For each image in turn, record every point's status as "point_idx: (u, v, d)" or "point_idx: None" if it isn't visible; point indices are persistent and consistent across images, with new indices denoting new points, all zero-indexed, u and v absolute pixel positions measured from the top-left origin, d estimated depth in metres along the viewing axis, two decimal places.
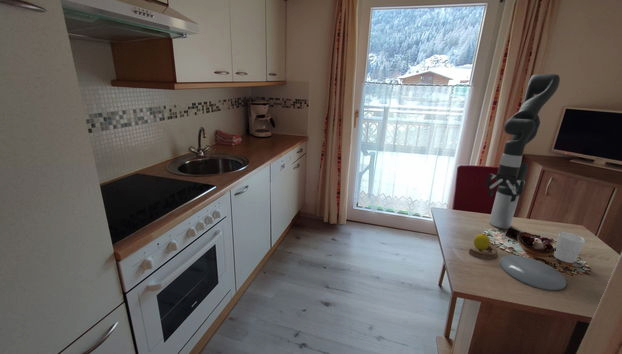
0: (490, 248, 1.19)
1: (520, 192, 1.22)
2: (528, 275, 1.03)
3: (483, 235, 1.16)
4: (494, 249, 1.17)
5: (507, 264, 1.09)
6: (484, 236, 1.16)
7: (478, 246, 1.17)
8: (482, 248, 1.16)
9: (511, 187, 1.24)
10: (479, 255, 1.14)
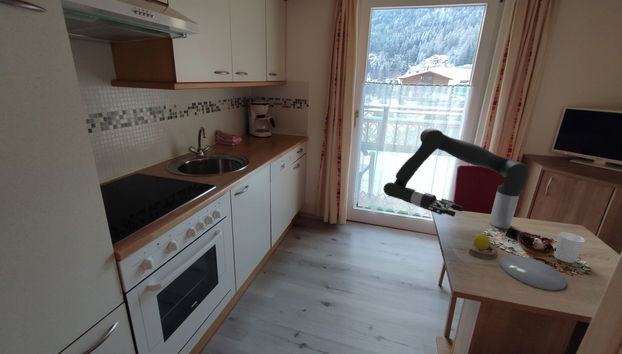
0: (490, 248, 1.19)
1: None
2: (528, 275, 1.03)
3: (483, 235, 1.16)
4: (494, 249, 1.17)
5: (507, 264, 1.09)
6: (484, 236, 1.16)
7: (478, 246, 1.17)
8: (482, 248, 1.16)
9: None
10: (479, 255, 1.14)
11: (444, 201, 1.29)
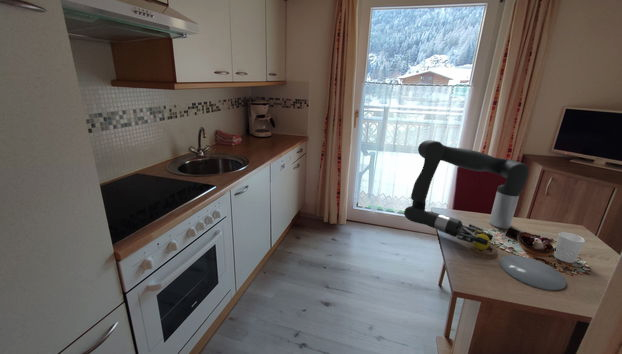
0: (490, 248, 1.19)
1: None
2: (528, 275, 1.03)
3: (483, 235, 1.16)
4: (494, 249, 1.17)
5: (507, 264, 1.09)
6: (484, 236, 1.16)
7: (478, 246, 1.17)
8: (482, 248, 1.16)
9: None
10: (479, 255, 1.14)
11: (471, 228, 1.22)
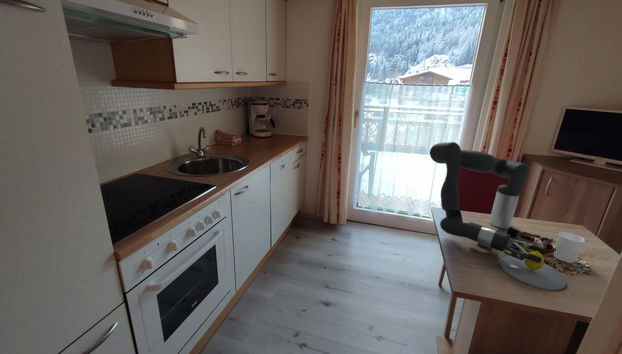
0: (490, 248, 1.19)
1: None
2: (528, 275, 1.03)
3: (537, 253, 1.03)
4: (494, 249, 1.17)
5: (507, 264, 1.09)
6: (538, 254, 1.03)
7: (531, 265, 1.03)
8: (535, 268, 1.03)
9: None
10: (479, 255, 1.14)
11: (521, 241, 1.09)
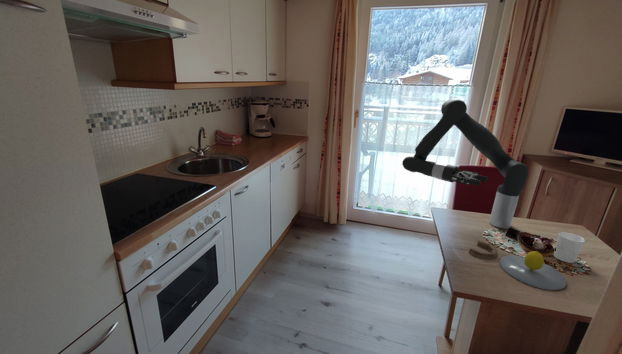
0: (490, 248, 1.19)
1: None
2: (528, 275, 1.03)
3: (536, 253, 1.03)
4: (494, 249, 1.17)
5: (507, 264, 1.09)
6: (538, 254, 1.03)
7: (531, 265, 1.03)
8: (535, 268, 1.03)
9: None
10: (479, 255, 1.14)
11: (467, 172, 1.25)
